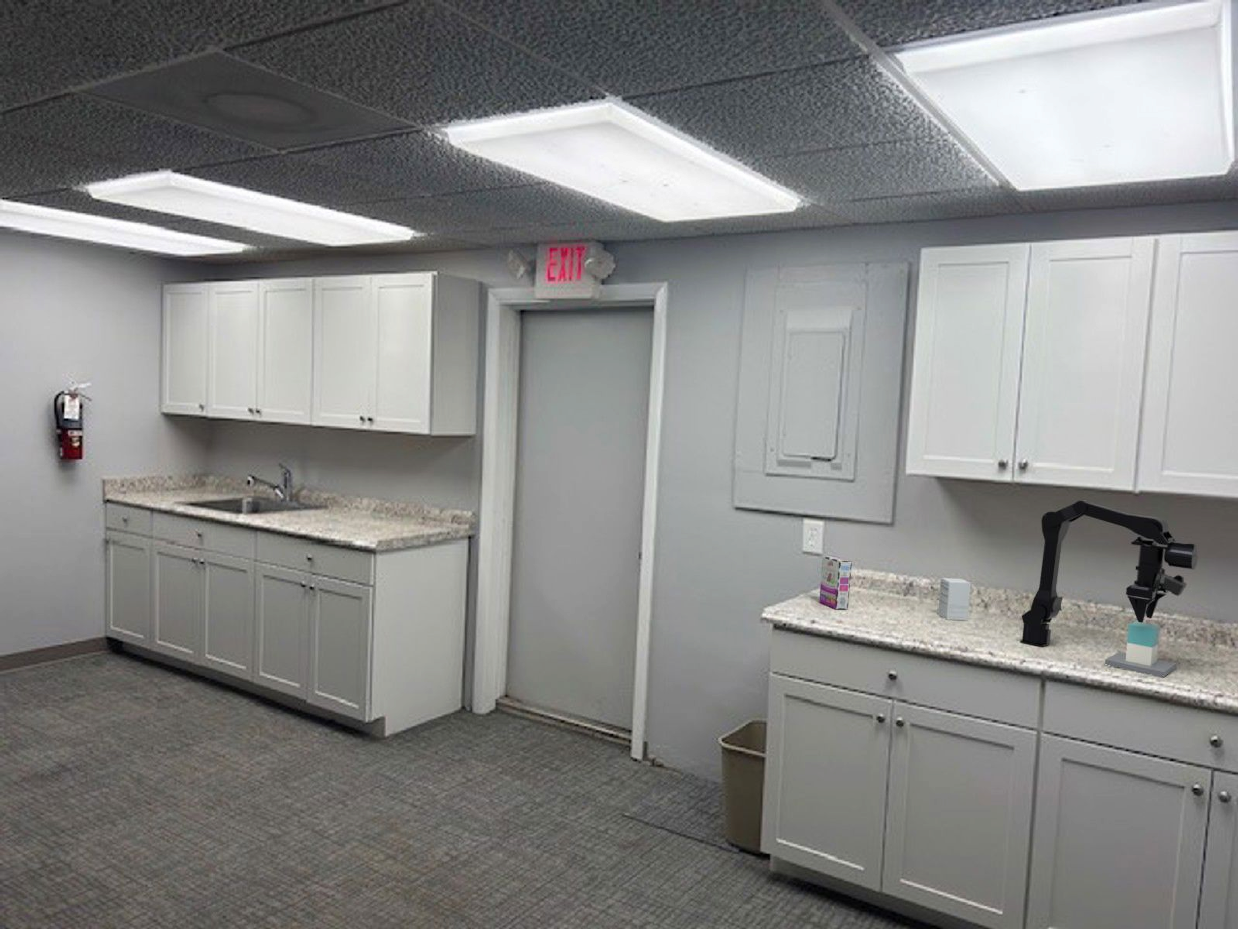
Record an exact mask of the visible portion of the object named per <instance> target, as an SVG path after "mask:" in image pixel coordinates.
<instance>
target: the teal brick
mask: <svg viewBox="0 0 1238 929" xmlns="http://www.w3.org/2000/svg"><path fill="white" fill-rule="evenodd" d="M1160 628H1161V627H1160V625H1155V624H1154V625H1153V624H1150V623H1149V624H1148V623H1145V622H1142V623H1141V622H1138V621H1133V622H1132V623H1129V625H1128V631H1127V633H1128V634H1127V640H1126V644H1127V643H1131V644H1136V645H1141V646H1146V647H1151V648H1153V647H1154V646H1156V645H1158V646H1159V636H1160Z"/></svg>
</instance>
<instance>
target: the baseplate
mask: <svg viewBox="0 0 1238 929" xmlns="http://www.w3.org/2000/svg"><path fill="white" fill-rule="evenodd" d="M1105 664H1107V665H1110V666H1109V667H1112V666H1113V667H1112V668H1116V667H1119V668H1118V669H1121V668H1123V669H1122V670H1125V669H1127V670H1126V671H1131V672H1134V671H1137V672H1136V673H1139V672H1141V673H1140V674H1144V673H1145V674H1144V675H1148V674H1152V675H1151V676H1153V675H1154V676H1153V677H1157V676H1158V678H1162V679H1163V678H1165V677H1167V676H1168V675H1169V673H1170V672H1171V673H1172V672H1174V671H1175V670H1177V666H1178V664H1177V663H1175V662H1170V661H1166V660H1163V659H1162V660H1161V659H1157V660H1156V663H1155V664H1153V665H1151V666H1148V665H1143V664H1139V663H1134V662H1129V661H1126V652H1123V651H1119V652H1118V651H1117V653H1114V654H1113V655H1111V656H1109V657H1107V658H1106V659H1105V660H1104V665H1105ZM1107 665H1106V666H1107ZM1171 673H1170V674H1171ZM1167 674H1168V675H1167ZM1166 675H1167V676H1166Z"/></svg>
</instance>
